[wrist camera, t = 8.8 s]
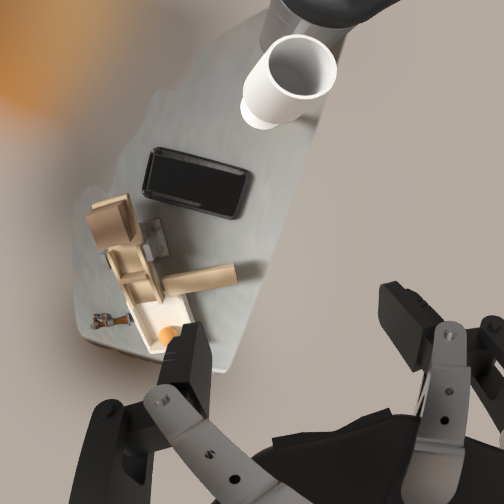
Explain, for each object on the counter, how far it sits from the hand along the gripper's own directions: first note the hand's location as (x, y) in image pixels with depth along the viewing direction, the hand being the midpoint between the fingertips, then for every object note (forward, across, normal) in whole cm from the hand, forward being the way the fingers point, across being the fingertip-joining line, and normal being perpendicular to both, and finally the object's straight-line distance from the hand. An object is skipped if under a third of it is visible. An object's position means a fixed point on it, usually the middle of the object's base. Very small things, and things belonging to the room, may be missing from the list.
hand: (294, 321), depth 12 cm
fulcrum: (+32, +19, +4) cm, 38 cm away
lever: (+28, +13, +4) cm, 31 cm away
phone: (+33, +8, -3) cm, 34 cm away
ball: (+30, +19, +21) cm, 41 cm away
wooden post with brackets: (+32, +30, +17) cm, 47 cm away
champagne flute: (+32, -4, -12) cm, 35 cm away
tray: (+32, +19, +18) cm, 41 cm away
